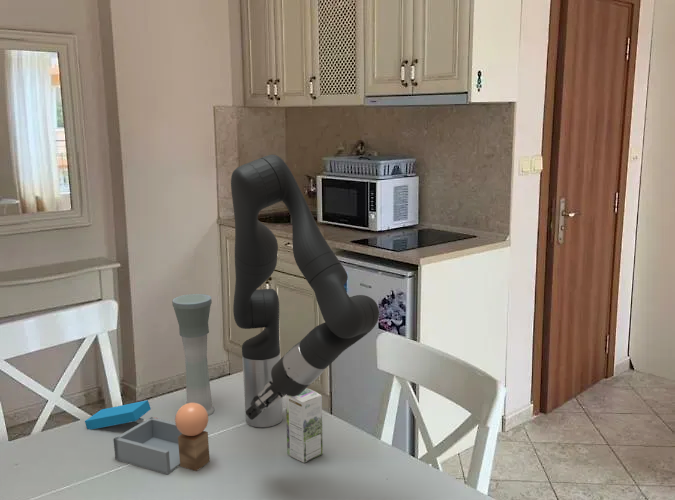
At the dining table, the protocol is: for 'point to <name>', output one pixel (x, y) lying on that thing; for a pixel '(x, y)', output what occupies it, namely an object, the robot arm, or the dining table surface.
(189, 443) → the wooden block
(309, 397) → the syrup box
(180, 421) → the ball
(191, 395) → the container
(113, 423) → the lever
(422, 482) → the dining table surface
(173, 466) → the tray
